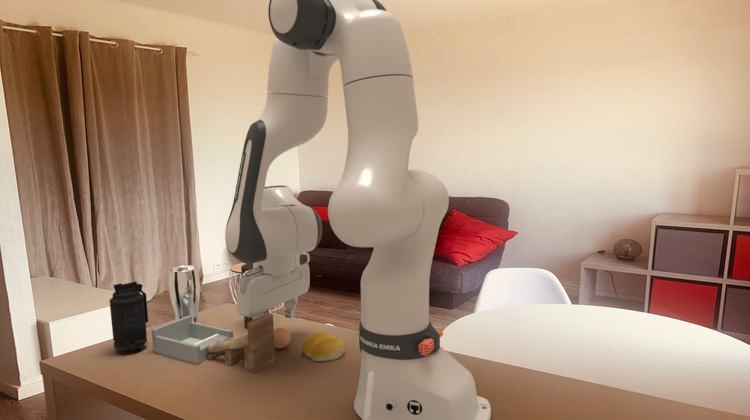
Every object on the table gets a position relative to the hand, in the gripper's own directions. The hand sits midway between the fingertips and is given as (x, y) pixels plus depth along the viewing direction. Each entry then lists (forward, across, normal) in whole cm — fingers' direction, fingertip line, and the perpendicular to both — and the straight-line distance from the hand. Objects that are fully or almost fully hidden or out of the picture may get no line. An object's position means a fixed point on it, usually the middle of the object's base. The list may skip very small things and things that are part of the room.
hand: (276, 323), depth 107 cm
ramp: (+5, -9, +3) cm, 11 cm away
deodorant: (+6, +8, +13) cm, 16 cm away
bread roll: (+6, +2, -11) cm, 12 cm away
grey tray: (+6, -9, +16) cm, 19 cm away
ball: (+3, 0, -1) cm, 3 cm away
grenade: (+6, -14, +28) cm, 32 cm away
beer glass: (+6, 0, +27) cm, 28 cm away
